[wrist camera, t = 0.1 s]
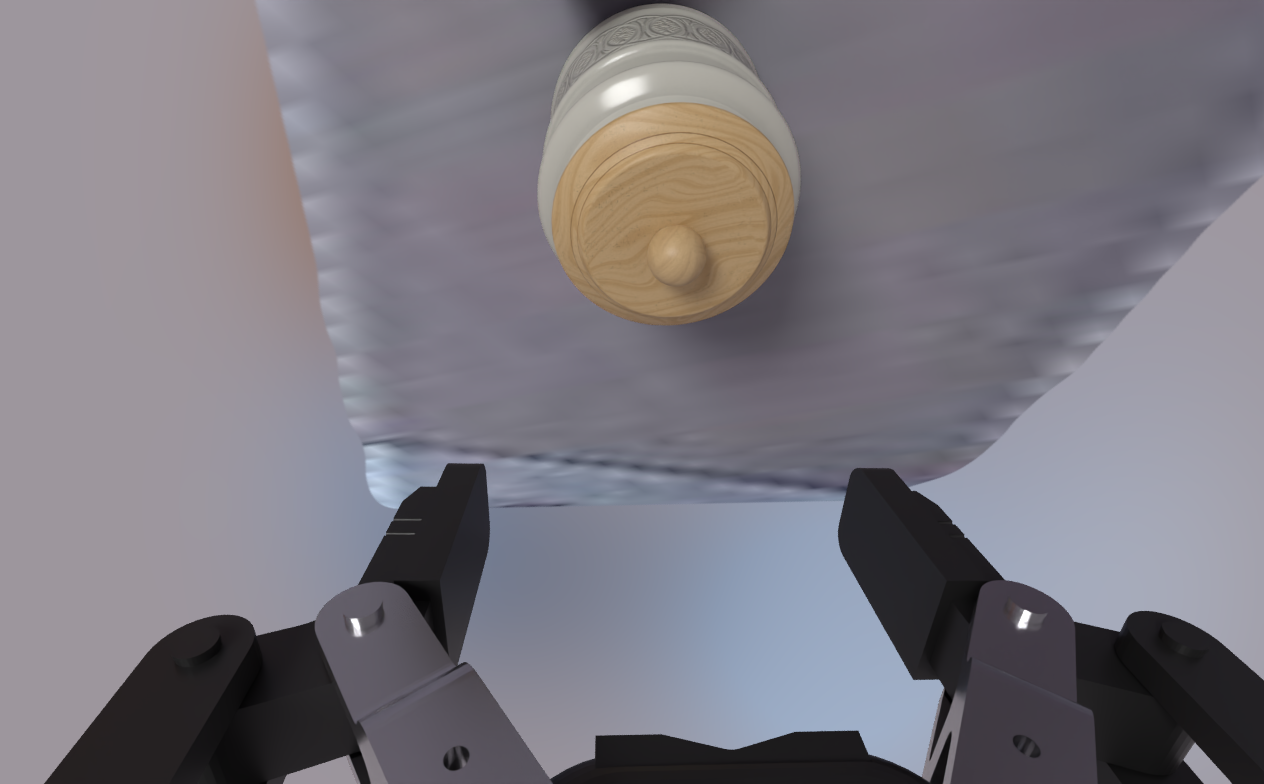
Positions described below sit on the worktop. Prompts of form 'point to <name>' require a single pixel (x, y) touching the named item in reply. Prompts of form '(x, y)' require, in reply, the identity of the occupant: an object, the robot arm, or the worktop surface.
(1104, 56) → the worktop surface
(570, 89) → the jar
